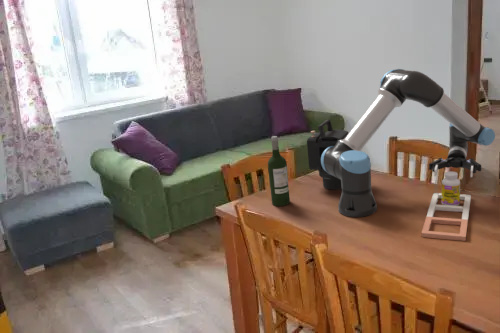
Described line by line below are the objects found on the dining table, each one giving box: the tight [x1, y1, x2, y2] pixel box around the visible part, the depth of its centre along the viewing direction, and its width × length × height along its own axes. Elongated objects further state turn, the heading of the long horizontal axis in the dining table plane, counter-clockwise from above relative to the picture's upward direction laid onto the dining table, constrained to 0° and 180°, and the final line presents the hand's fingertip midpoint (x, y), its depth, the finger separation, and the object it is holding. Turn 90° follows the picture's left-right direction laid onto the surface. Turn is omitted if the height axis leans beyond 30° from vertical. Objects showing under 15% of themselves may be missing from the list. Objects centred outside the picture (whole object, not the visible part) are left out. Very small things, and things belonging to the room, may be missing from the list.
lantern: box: [306, 118, 350, 191], centre depth 222 cm, size 15×18×30 cm
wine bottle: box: [267, 135, 291, 207], centre depth 208 cm, size 8×8×30 cm
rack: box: [421, 192, 472, 242], centre depth 181 cm, size 38×14×2 cm, turn 154°
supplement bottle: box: [441, 170, 461, 206], centre depth 190 cm, size 7×7×13 cm
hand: (453, 173), depth 197 cm, fingers open, 13 cm apart
